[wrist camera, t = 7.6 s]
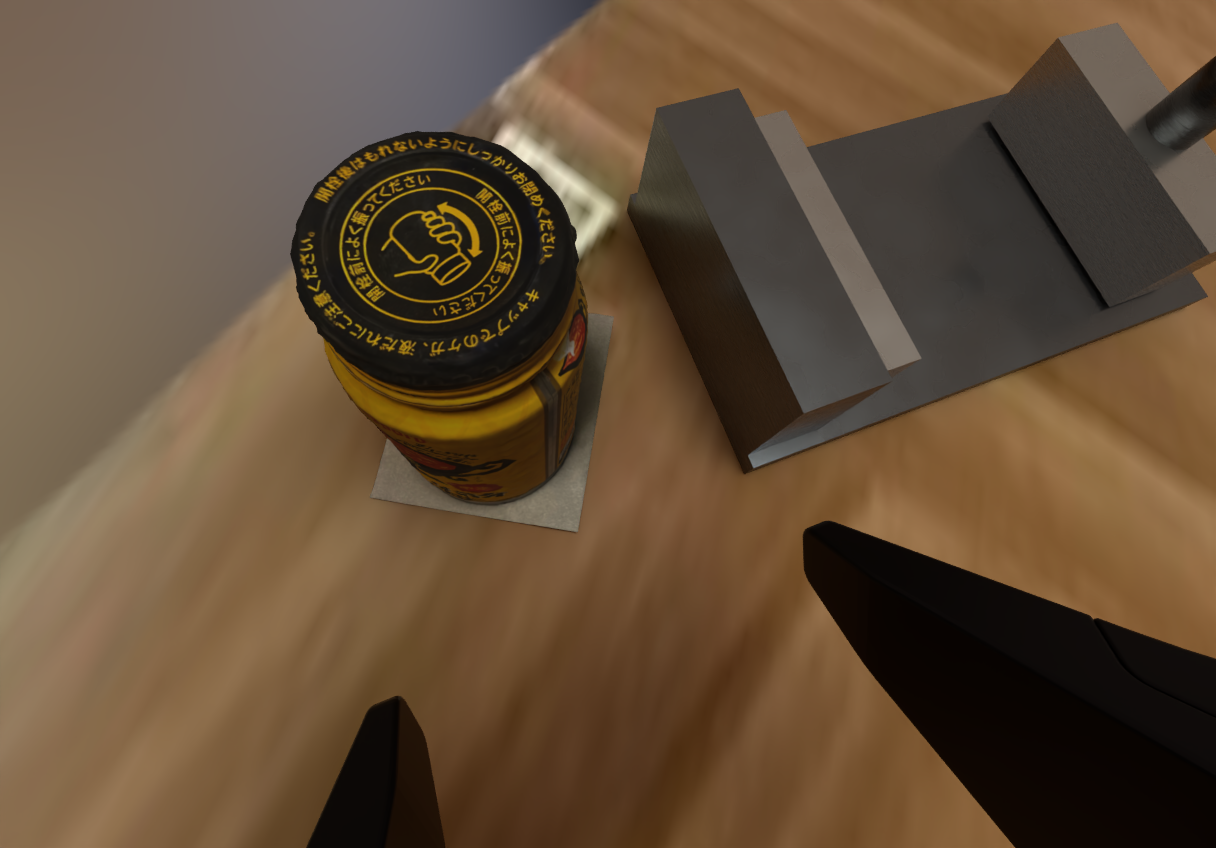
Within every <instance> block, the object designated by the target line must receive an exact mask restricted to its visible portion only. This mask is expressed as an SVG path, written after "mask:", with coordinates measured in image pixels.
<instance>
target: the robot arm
mask: <svg viewBox="0 0 1216 848" xmlns="http://www.w3.org/2000/svg"><path fill="white" fill-rule="evenodd" d="M803 561H804V571H805V574H806V577H807V579H808V581H809V583H810V584H811V586H812V587H813V589H814V590H815V592H816V593H817V595H818V596H819V598H820V599H821V601H822V602H823V604H824V605H825V607H826V608H827V610H828V611H829V613H830V614H831V616H832V617H833V619H834V620H835V622H836V623H837V625H838V626H839V628H840V629H841V631H842V632H843V634H844V635H845V637H846V638H847V640H848V641H849V643H850V644H851V646H852V647H853V649H854V650H855V652H856V653H857V655H858V656H859V658H860V659H861V660H862V662H863V663H864V665H865V666H866V667H867V669H868V670H869V671H870V672H871V674H872V675H873V676H874V678H875V679H876V680H877V681H878V682H879V684H880V685H881V686H882V687H883V689H884V690H885V691H886V692H887V693H888V695H889V696H890V697H891V698H892V699H893V701H894V702H895V703H896V704H897V705H898V707H899V708H900V709H901V710H902V711H903V713H904V714H905V715H906V716H907V718H908V719H909V720H910V721H911V722H912V724H913V725H914V726H915V727H916V728H917V730H918V731H919V732H920V733H921V734H922V736H923V737H924V738H925V739H926V740H927V742H928V743H929V744H930V745H931V747H932V748H933V749H934V750H935V751H936V753H937V754H938V755H939V756H940V757H941V759H942V760H943V761H944V762H945V763H946V765H947V766H948V767H949V768H950V769H951V771H952V772H953V773H954V774H955V776H956V777H957V778H958V779H959V780H960V782H961V783H962V784H963V785H964V786H965V788H966V789H967V790H968V791H969V792H970V794H971V795H972V796H973V797H974V798H975V800H976V801H977V802H978V803H979V805H980V806H981V807H982V808H983V809H984V811H985V812H986V813H987V814H988V815H989V817H990V818H991V819H992V820H993V821H994V823H995V824H996V825H997V826H998V827H999V829H1000V830H1001V831H1002V832H1003V834H1004V835H1005V836H1006V837H1007V838H1008V840H1009V841H1010V842H1011V843H1012V844H1013V846H1014V847H1015V848H1216V659H1215V658H1212V657H1209V656H1206V655H1202V654H1199V653H1196V652H1193V651H1190V650H1187V649H1183V648H1181V647H1178V646H1175V645H1172V644H1169V643H1166V642H1163V641H1160V640H1158V639H1155V638H1152V637H1149V636H1146V635H1143V634H1140V633H1137V632H1135V631H1132V630H1129V629H1126V628H1123V627H1121V626H1118V625H1115V624H1112V623H1110V622H1107V621H1104V620H1102V619H1099V618H1095V619H1094V620H1093V619H1092V617H1091V616H1090V615H1087V614H1085V613H1082V612H1079V611H1076V610H1074V609H1071V608H1068V607H1065V606H1063V605H1060V604H1057V603H1055V602H1052V601H1049V600H1046V599H1044V598H1041V597H1038V596H1035V595H1033V594H1030V593H1027V592H1024V591H1022V590H1019V589H1016V588H1013V587H1011V586H1008V585H1005V584H1003V583H1000V582H997V581H994V580H992V579H989V578H986V577H983V576H981V575H978V574H975V573H972V572H970V571H967V570H964V569H962V568H959V567H956V566H953V565H951V564H948V563H945V562H942V561H940V560H937V559H934V558H931V557H929V556H926V555H923V554H920V553H918V552H915V551H912V550H910V549H907V548H904V547H901V546H899V545H896V544H893V543H890V542H888V541H885V540H882V539H879V538H877V537H874V536H871V535H868V534H866V533H863V532H860V531H858V530H855V529H852V528H849V527H847V526H844V525H841V524H838V523H836V522H832V521H824V522H821V523H819V524H816V525H814V526H811V527H809V528H807V529H805V531H804V533H803ZM306 848H445V842H444V836H443V831H442V825H441V819H440V814H439V808H438V803H437V797H436V792H435V786H434V781H433V775H432V770H431V764H430V758H429V753H428V748H427V743H426V739H425V736H424V733H423V731H422V729H421V727H420V725H419V724H418V722H417V720H416V719H415V717H414V715H413V713H412V712H411V710H410V708H409V706H408V705H407V703H406V701H405V700H404V699H403V698H402V697H401V696H395V697H392V698H390V699H387V700H385V701H382V702H380V703H377V704H375V705H373V706H372V707H370V709H369V710H368V711H367V713H366V715H365V717H364V719H363V722H362V724H361V726H360V728H359V731H358V733H357V735H356V737H355V740H354V742H353V744H352V746H351V749H350V751H349V753H348V755H347V757H346V760H345V762H344V764H343V766H342V769H341V771H340V773H339V775H338V778H337V780H336V782H335V784H334V787H333V789H332V791H331V793H330V795H329V798H328V800H327V802H326V804H325V807H324V809H323V811H322V813H321V816H320V818H319V820H318V822H317V825H316V827H315V829H314V831H313V833H312V836H311V838H310V840H309V842H308V845H307V847H306Z"/></svg>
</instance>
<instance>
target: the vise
mask: <svg viewBox="0 0 1216 848" xmlns="http://www.w3.org/2000/svg"><path fill="white" fill-rule="evenodd" d="M1007 94H1008V93H1007ZM1007 94H1004V95H1000V96H996V97H992V98H989V99H985V100H981V101H978V102H974V103H970V104H966V105H963V106H959V107H955V108H951V109H948V110H944V111H940V112H937V113H933V114H929V115H925V116H922V117H918V118H914V119H911V120H907V121H903V122H899V123H896V124H892V125H888V126H884V127H881V128H877V129H873V130H870V131H866V132H862V133H858V134H855V135H851V136H847V137H844V138H840V139H836V140H832V141H829V142H825V143H821V144H817V145H814V146H810V147H806V146H805V144H804V142H803V140H802V138H801V137H800V135H799V133H798V131H797V129H796V127H795V126H794V124H793V122H792V120H791V118H790V116H789V115H788V113H787V111H786V110H784V111H780V112H776V113H772V114H768V115H764V116H761V117H757V118H754V116H753V115H752V113H751V111H750V109H749V107H748V105H747V103H746V101H745V99H744V98H743V96H742V94H741V92H740V90H739V88H738V89H734V90H729V91H725V92H721V93H717V94H713V95H709V96H705V97H700V98H696V99H692V100H688V101H684V102H680V103H676V104H671V105H667V106H663V107H659V108H656V113H655V117H654V122H653V126H652V131H651V135H650V139H649V144H648V148H647V153H646V157H645V162H644V166H643V171H642V175H641V180H640V184H639V189H638V193H635V194H631V195H630V199H629V203H628V208H627V211H628V213H629V215H630V218H631V220H632V222H633V224H634V227H635V229H636V231H637V233H638V236H639V238H640V240H641V242H642V245H643V247H644V249H645V251H646V254H647V256H648V258H649V260H650V263H651V265H652V267H653V269H654V272H655V274H656V276H657V278H658V280H659V283H660V285H661V287H662V289H663V292H664V294H665V296H666V298H667V301H668V303H669V305H670V307H671V310H672V312H673V314H674V316H675V319H676V321H677V323H678V325H679V328H680V330H681V332H682V334H683V336H684V339H685V341H686V343H687V345H688V348H689V350H690V352H691V354H692V357H693V359H694V361H695V363H696V366H697V368H698V370H699V372H700V375H701V377H702V379H703V381H704V384H705V386H706V388H707V390H708V392H709V395H710V397H711V399H712V401H713V404H714V406H715V408H716V410H717V413H718V415H719V417H720V419H721V422H722V424H723V426H724V428H725V431H726V433H727V435H728V437H729V440H730V442H731V444H732V446H733V448H734V451H735V453H736V455H737V457H738V460H739V462H740V464H741V466H742V469H743V471H744V473H745V474H746V473H749V472H751V471H754V470H757V469H759V468H762V467H765V466H767V465H770V464H772V463H775V462H778V461H780V460H783V459H786V458H788V457H791V456H794V455H796V454H799V453H802V452H804V451H807V450H809V449H812V448H815V447H817V446H820V445H823V444H825V443H828V442H831V441H833V440H836V439H839V438H841V437H844V436H846V435H849V434H852V433H854V432H857V431H860V430H862V429H865V428H868V427H870V426H873V425H875V424H878V423H881V422H883V421H886V420H889V419H891V418H894V417H897V416H899V415H902V414H905V413H907V412H910V411H912V410H915V409H918V408H920V407H923V406H926V405H928V404H931V403H934V402H936V401H939V400H942V399H944V398H947V397H949V396H952V395H955V394H957V393H960V392H963V391H965V390H968V389H971V388H973V387H976V386H979V385H981V384H984V383H986V382H989V381H992V380H994V379H997V378H1000V377H1002V376H1005V375H1008V374H1010V373H1013V372H1015V371H1018V370H1021V369H1023V368H1026V367H1029V366H1031V365H1034V364H1037V363H1039V362H1042V361H1045V360H1047V359H1050V358H1052V357H1055V356H1058V355H1060V354H1063V353H1066V352H1068V351H1071V350H1074V349H1076V348H1079V347H1082V346H1084V345H1087V344H1089V343H1092V342H1095V341H1097V340H1100V339H1103V338H1105V337H1108V336H1111V335H1113V334H1116V333H1119V332H1121V331H1124V330H1126V329H1129V328H1132V327H1134V326H1137V325H1140V324H1142V323H1145V322H1148V321H1150V320H1153V319H1155V318H1158V317H1161V316H1163V315H1166V314H1169V313H1171V312H1174V311H1177V310H1179V309H1182V308H1185V307H1187V306H1189V305H1191V304H1193V303H1195V302H1197V301H1199V300H1202V299H1204V298H1206V297H1208V296H1207V294H1206V293H1205V291H1204V290H1203V288H1202V287H1201V286H1200V284H1199V283H1198V281H1197V280H1196V278H1195V277H1194V275H1193V274H1192V273H1190V274H1188V275H1187V276H1185V277H1183V278H1181V279H1179V280H1177V281H1175V282H1173V283H1171V284H1169V285H1167V286H1165V287H1163V288H1160V289H1158V290H1155V291H1152V292H1149V293H1147V294H1144V295H1141V296H1138V297H1136V298H1133V299H1130V300H1128V301H1125V302H1122V303H1119V304H1117V305H1114V306H1111V307H1109V306H1108V304H1107V303H1106V301H1105V299H1104V298H1103V296H1102V295H1101V293H1100V292H1099V290H1098V289H1097V287H1096V285H1095V284H1094V282H1093V281H1092V279H1091V278H1090V276H1089V274H1088V273H1087V271H1086V270H1085V268H1084V267H1083V265H1082V264H1081V262H1080V260H1079V259H1078V257H1077V256H1076V254H1075V253H1074V251H1073V250H1072V248H1071V246H1070V245H1069V243H1068V242H1067V240H1066V239H1065V237H1064V236H1063V234H1062V232H1061V231H1060V229H1059V228H1058V226H1057V225H1056V223H1055V222H1054V220H1053V218H1052V217H1051V215H1050V214H1049V212H1048V211H1047V209H1046V208H1045V206H1044V204H1043V203H1042V201H1041V200H1040V198H1039V197H1038V195H1037V194H1036V192H1035V190H1034V189H1033V187H1032V186H1031V184H1030V183H1029V181H1028V180H1027V178H1026V176H1025V175H1024V173H1023V172H1022V170H1021V169H1020V167H1019V165H1018V164H1017V162H1016V161H1015V159H1014V158H1013V156H1012V155H1011V153H1010V151H1009V150H1008V148H1007V147H1006V145H1005V144H1004V142H1003V141H1002V139H1001V137H1000V136H999V134H998V133H997V131H996V130H995V128H994V127H993V125H992V123H991V122H990V120H989V119H988V117H987V116H988V115H989V114H990V113H991V112H992V110H993V109H994V108H995V107H996V106H997V105H998V104H999V103H1000V102H1001V101H1002V99H1003V98H1004V97H1005V96H1006V95H1007Z"/></svg>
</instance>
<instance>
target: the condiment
mask: <svg viewBox="0 0 1216 848" xmlns="http://www.w3.org/2000/svg"><path fill="white" fill-rule="evenodd" d="M576 239H577V234H576V230H575V228H574V227H573V226H572V225H571V222H570V219H569V216H568V214H567V212H566V209H565V207H564V205H563V203H562V202H561V200H560V198H559V197H558V195H557V194H556V193H555V192H554V190H553V189H552V188H551V187H550V186H549V185H548V184H547V183H546V182H545V181H544V180H543V179H542V178H541V177H540V175H539V174H538V173H537V172H536V171H535V170H534V169H532V168H531V167H530V166H529V165H527V164H526V163H525V162H523V161H522V160H521V159H519V158H518V157H517V156H516V155H515V154H513V153H512V152H511V151H509V150H508V149H506V148H505V147H503V146H501V145H498V144H495V143H492V142H489V141H485V140H482V139H479V138H476V137H468V136H464V135H460V134H457V133H453V132H419V131H416V132H411V133H405V134H402V135H400V136H396V137H393V138H390V139H386V140H383V141H380V142H377V143H374V144H372V145H368V146H366V147H364V148H362V149H361V150H359V151H357V152H355V153H354V154H352V155H351V156H350V157H349V158H347V159H345V160H344V161H343V162H342V163H340V164H339V165H338V166H337V167H336V168H335V169H334V170H332V171H331V172H330V173H329V174H328V175H327V176H326V177H325V178H324V179H323V180H321V181H320V182H318V183H317V184H316V185H315V187H314V189H313V191H312V193H311V194H310V196H309V197H308V199H307V201H306V202H305V205H304V208H303V210H302V213H301V215H300V217H299V219H298V221H297V223H296V232H295V235H294V237H293V240H292V249H291V253H290V255H291V259H292V262H293V266H294V270H295V274H296V278H297V279H296V282H297V286H296V289H297V292H298V294H299V299H300V301H301V303H302V305H303V306H304V308H305V312H306V314H307V315H308V317H309V319H310V320H311V321H313V322H314V324H315V325H316V327H317V332H318V334H320V335H321V336H322V337H323V339H324V345H325V352H326V355H327V357H328V360H329V363H330V365H331V367H332V369H333V372H334V374H335V375H336V377H337V379H338V380H339V381H340V383H341V384H342V386H343V389H344V390H345V391H346V393H347V394H348V396H349V398H350V400H352V401H353V402H354V403H355V405H356V406H357V407H358V409H359V410H360V411H361V412H362V413H363V414H364V415H365V416H366V417H367V418H368V419H369V420H370V421H372V422H373V423H374V424H375V425H376V426H377V428H378V429H379V430H380V431H381V432H382V433H384V435H385V436H386V437H387V441H386V445H385V448H384V452H383V455H382V458H381V462H380V466H379V470H378V473H377V477H376V480H375V484H374V487H373V490H372V493H371V495H370V498H376V499H381V500H388V501H393V502H399V503H404V504H410V505H417V506H423V507H428V508H434V509H440V510H446V511H451V512H457V513H463V514H469V515H476V516H482V517H488V518H494V519H500V520H506V521H512V522H518V523H525V524H534V525H538V526H544V527H550V528H556V529H562V530H568V531H574V532H578V527H579V521H580V515H581V509H582V503H583V497H584V491H585V485H586V479H587V472H588V467H589V461H590V455H591V449H592V443H593V437H594V431H595V425H596V419H597V413H598V408H599V402H600V395H601V390H602V384H603V378H604V372H605V366H606V360H607V354H608V348H609V342H610V336H611V330H612V324H613V318H614V317H613V316H606V315H600V314H590V313H588V312H587V301H586V297H585V293H584V290H583V286H582V284H581V281H580V279H579V277H578V274H577V271H576V268H577V265H578V262H579V258H578V254H577V250H576V247H575V241H576Z"/></svg>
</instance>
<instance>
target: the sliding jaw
mask: <svg viewBox="0 0 1216 848" xmlns="http://www.w3.org/2000/svg"><path fill="white" fill-rule="evenodd" d="M987 117H988V119H989V120H990V122H991V123H992V125H993V127H994V128H995V130H996V131H997V133H998V134H999V136H1000V137H1001V139H1002V141H1003V142H1004V144H1005V145H1006V147H1007V148H1008V150H1009V151H1010V153H1011V155H1012V156H1013V158H1014V159H1015V161H1016V162H1017V164H1018V165H1019V167H1020V169H1021V170H1022V172H1023V173H1024V175H1025V176H1026V178H1027V180H1028V181H1029V183H1030V184H1031V186H1032V187H1033V189H1034V190H1035V192H1036V194H1037V195H1038V197H1039V198H1040V200H1041V201H1042V203H1043V204H1044V206H1045V208H1046V209H1047V211H1048V212H1049V214H1050V215H1051V217H1052V218H1053V220H1054V222H1055V223H1056V225H1057V226H1058V228H1059V229H1060V231H1061V232H1062V234H1063V236H1064V237H1065V239H1066V240H1067V242H1068V243H1069V245H1070V246H1071V248H1072V250H1073V251H1074V253H1075V254H1076V256H1077V257H1078V259H1079V260H1080V262H1081V264H1082V265H1083V267H1084V268H1085V270H1086V271H1087V273H1088V274H1089V276H1090V278H1091V279H1092V281H1093V282H1094V284H1095V285H1096V287H1097V289H1098V290H1099V292H1100V293H1101V295H1102V296H1103V298H1104V299H1105V301H1106V303H1107V304H1108V306H1109V307H1111V306H1114V305H1117V304H1119V303H1122V302H1125V301H1128V300H1130V299H1133V298H1136V297H1138V296H1141V295H1144V294H1147V293H1149V292H1152V291H1155V290H1158V289H1160V288H1163V287H1165V286H1167V285H1169V284H1171V283H1173V282H1175V281H1177V280H1179V279H1181V278H1183V277H1185V276H1187V275H1188V274H1190V273H1192V272H1194V271H1196V270H1198V269H1200V268H1202V267H1204V266H1206V265H1208V264H1210V263H1212V262H1214V261H1216V155H1215V154H1214V153H1213V151H1212V150H1211V149H1210V147H1209V146H1208V144H1207V143H1206V142H1205V140H1204V139H1203V138H1204V137H1205V136H1207V135H1208V134H1209V133H1211V132H1212V131H1214V130H1215V129H1216V56H1215V57H1214V58H1213V59H1211V60H1210V61H1209V62H1208V63H1207V64H1205V65H1204V66H1203V67H1202V68H1200V69H1199V70H1198V71H1197V72H1196V73H1194V74H1193V75H1192V76H1191V77H1189V78H1188V79H1187V80H1186V81H1185V82H1183V83H1182V84H1181V85H1180V86H1179V87H1177V88H1176V89H1175V90H1174V91H1172V92H1171V93H1169V92H1168V90H1167V89H1166V88H1165V86H1164V85H1163V84H1162V82H1161V81H1160V80H1159V78H1158V77H1157V75H1156V74H1155V73H1154V71H1153V70H1152V69H1151V67H1150V66H1149V65H1148V63H1147V62H1146V61H1145V59H1144V58H1143V57H1142V55H1141V54H1140V53H1139V51H1138V50H1137V48H1136V47H1135V46H1134V44H1133V43H1132V42H1131V40H1130V39H1129V38H1128V36H1127V35H1126V34H1125V32H1124V31H1123V30H1122V28H1121V27H1120V25H1119V24H1118V23H1114V24H1110V25H1106V26H1102V27H1098V28H1094V29H1090V30H1087V31H1083V32H1079V33H1075V34H1071V35H1067V36H1063V37H1059V38H1057V39H1056V41H1055V42H1054V43H1053V44H1052V45H1051V46H1050V47H1049V48H1048V49H1047V51H1046V52H1045V53H1044V54H1043V55H1042V56H1041V57H1040V58H1039V59H1038V61H1037V62H1036V63H1035V64H1034V65H1033V66H1032V67H1031V68H1030V69H1029V71H1028V72H1027V73H1026V74H1025V75H1024V76H1023V77H1022V78H1021V79H1020V81H1019V82H1018V83H1017V84H1016V85H1015V86H1014V87H1013V88H1012V89H1011V91H1010V92H1009V93H1008V94H1007V95H1006V96H1005V97H1004V98H1003V99H1002V101H1001V102H1000V103H999V104H998V105H997V106H996V107H995V108H994V109H993V110H992V112H991V113H990V114H989V115H988V116H987Z"/></svg>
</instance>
